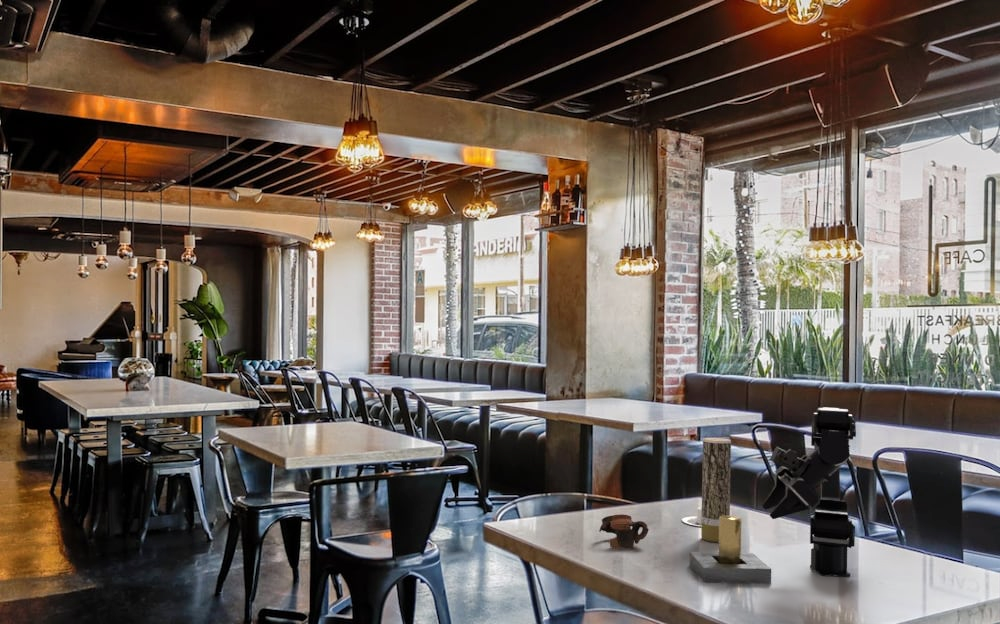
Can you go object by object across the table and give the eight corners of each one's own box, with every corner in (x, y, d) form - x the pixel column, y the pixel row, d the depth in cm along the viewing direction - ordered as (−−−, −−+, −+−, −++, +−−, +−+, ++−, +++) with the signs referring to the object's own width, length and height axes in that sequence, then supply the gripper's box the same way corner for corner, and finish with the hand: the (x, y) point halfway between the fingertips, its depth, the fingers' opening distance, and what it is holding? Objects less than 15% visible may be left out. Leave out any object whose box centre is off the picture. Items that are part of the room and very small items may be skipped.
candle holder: (673, 520, 227) (673, 504, 227) (711, 518, 230) (711, 502, 230) (696, 530, 215) (697, 514, 215) (736, 528, 219) (736, 512, 219)
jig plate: (752, 566, 182) (752, 553, 182) (771, 583, 170) (771, 568, 170) (689, 565, 182) (689, 551, 182) (703, 582, 170) (704, 567, 170)
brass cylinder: (736, 571, 178) (737, 515, 178) (743, 577, 173) (744, 520, 174) (715, 570, 178) (716, 515, 178) (721, 577, 173) (722, 520, 174)
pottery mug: (597, 550, 194) (593, 516, 199) (608, 559, 202) (604, 526, 206) (647, 542, 191) (642, 507, 195) (656, 551, 198) (651, 518, 203)
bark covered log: (726, 536, 208) (728, 438, 208) (731, 543, 201) (733, 441, 201) (699, 535, 208) (701, 437, 209) (703, 542, 202) (705, 440, 202)
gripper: (785, 429, 183) (734, 476, 185) (804, 440, 165) (746, 492, 166) (822, 466, 182) (769, 513, 184) (844, 482, 164) (786, 534, 165)
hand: (767, 512), depth 175 cm, fingers open, 9 cm apart
